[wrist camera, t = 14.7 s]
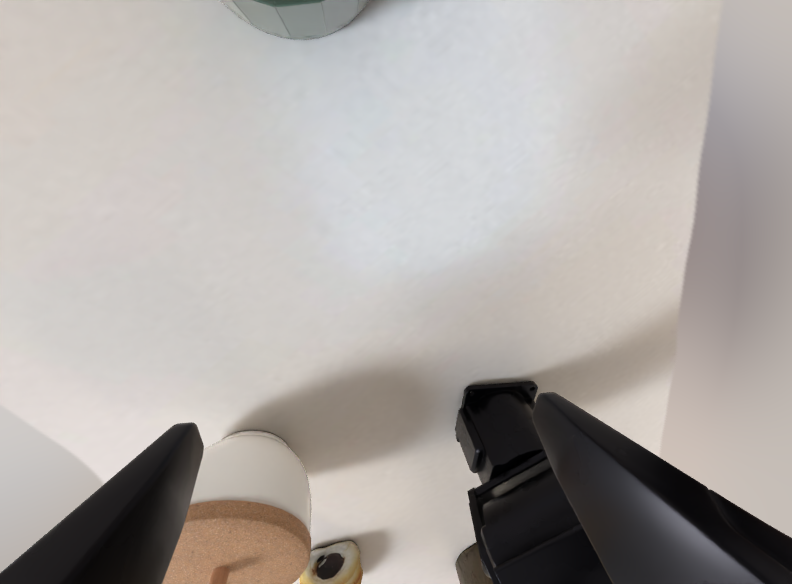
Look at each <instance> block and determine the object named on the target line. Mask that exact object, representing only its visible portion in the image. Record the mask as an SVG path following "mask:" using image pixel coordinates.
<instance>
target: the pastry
mask: <svg viewBox="0 0 792 584" xmlns="http://www.w3.org/2000/svg"><path fill="white" fill-rule="evenodd" d="M362 575H363V570H362V567H361V563H360V551H359V549H358V547H357V545H356V544H355V543H354V542H352V541H345V542H340V543H335V544H333V545H331V546H328V547H326V548H318V549H315V550H313V551H311V552H310V560H309V563H308V566H307V568H306V569H305V571H304V572H303V573H302V575H301V576H300V577H299V578H300V584H361V580H362Z"/></svg>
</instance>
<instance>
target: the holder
mask: <svg viewBox="0 0 792 584" xmlns="http://www.w3.org/2000/svg"><path fill="white" fill-rule="evenodd" d="M218 1H220V2H221V3H222V4H224V5H225V6H226V7H227V8H229V9H230V10H231V11H232V12H233V13H235V14H236V15H237V16H238V17H239V18H241V19H243V20H244V21H246V22H247V23H249V24H250V25H252V26H253V27H255V28H258V29H260V30H262V31H264V32H266V33H268V34H272V35H275V36H278V37H281V38H287V39H293V40H309V39H315V38H320V37H323V36H326V35H330V34H332V33H334V32H336V31H338V30H340V29H341V28H343V27H344V26H346V25H347V24H348V23H350V22H351V21H352V20H353V19H354V18H355V17H356V16H357V15H358V14H359V13H360V12H361V11H362V10H363V9H364V7H365V6H366V5H367V3H368V2H369V0H218Z"/></svg>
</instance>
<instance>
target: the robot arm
mask: <svg viewBox="0 0 792 584" xmlns="http://www.w3.org/2000/svg"><path fill="white" fill-rule="evenodd" d="M537 389H538V386H537V385H536V383H535V382H533V381H529V382H515V383H502V384H488V385H475V386H468V387H467V388H466V389H465V390H464V395H463V400H462V406H461V408H460V410H459V412H458V417H457V422H456V428H455V431H456V439H457V441H458V442H460V444H461V447H462V449H463V452H464V455H465V457H466V460H467V463H468V465H469V468H470V470H471V471H472V472H473V473H478V475H479V477H480V480H481V483H482V485H480V486H479V487H477V488H472V489H470V490H469V491H468V496H469V501H470V503H469V506H470V511H471V516H472V521H473V526H474V531H475V536H476V541H477V546H478V550H479V555H480V559H481V562H482V569H483V571H484V573H485V575H486V576H488V577H489V578H491V580H492V582H493V584H792V538H791V537H789V536H787V535H785V534H784V533H782V532H780V531H778V530H777V529H775V528H773V527H772V526H770V525H768V524H766V523H765V522H763V521H761V520H760V519H758V518H756V517H755V516H753V515H751V514H750V513H748V512H747V511H745V510H743V509H741V508H740V507H738V506H737V505H735V504H733V503H731V502H730V501H728V500H727V499H725V498H724V497H722V496H721V495H719V494H717V493H716V492H714V491H712V490H708V488H707V487H706V486H704V485H703V484H701V483H700V482H698V481H696V480H695V479H693V478H691V477H690V476H688V475H687V474H685V473H683V472H682V471H680V470H679V469H677V468H675V467H674V466H672V465H670V464H669V463H667V462H666V461H664V460H663V459H661V458H659V457H658V456H656V455H655V454H653V453H651V452H650V451H648V450H647V449H645V448H643V447H642V446H640V445H639V444H637V443H635V442H634V441H632V440H630V439H629V438H627V437H626V436H624V435H622V434H621V433H619V432H618V431H616V430H614V429H613V428H611V427H610V426H608V425H606V424H605V423H603V422H602V421H600V420H598V419H597V418H595V417H594V416H592V415H590V414H589V413H587V412H586V411H584V410H582V409H581V408H579V407H578V406H576V405H574V404H573V403H571V402H569V401H568V400H566V399H565V398H563V397H561V396H560V395H558V394H556V393H554V392H547V393H540V394H539V395H538V397H537V400H536V403H535V402H534V398H535V395H536V392H537ZM203 451H204V446H203V442H202V439H201V436H200V433H199V430H198V427H197V425H196V424H195V423H180V424H176V425H174V426H172V427H171V428H170V429H169V430H167V431H166V432H165V433H164V434H163V435H162V436H160V437H159V438H158V439H157V440H156V441H154V442H153V443H152V444H151V445H150V446H149V447H147V448H146V449H145V450H144V451H143V452H142V453H140V454H139V455H138V456H137V457H136V458H135V459H133V460H132V461H131V462H130V463H129V464H128V465H126V466H125V467H124V468H123V469H122V470H121V471H119V472H118V473H117V474H116V475H115V476H114V477H112V478H111V479H110V480H109V481H108V482H106V483H105V484H104V485H103V486H102V487H101V488H99V489H98V490H97V491H96V492H95V493H94V494H92V495H91V496H90V497H89V498H88V499H87V500H85V501H84V502H83V503H82V504H81V505H80V506H78V507H77V508H76V509H75V510H74V511H73V512H71V513H70V514H69V515H68V516H67V517H66V518H64V519H63V520H62V521H61V522H60V523H58V524H57V525H56V526H55V527H54V528H53V529H52V530H50V531H49V532H48V533H47V534H46V535H44V536H43V537H42V538H41V539H40V540H39V541H37V542H36V543H35V544H34V545H33V546H32V547H30V548H29V549H28V550H27V551H26V552H25V553H24V554H22V555H21V556H20V557H19V558H18V559H16V560H15V561H14V562H13V563H12V564H10V565H9V566H8V567H7V568H6V569H5V570H3V571H2V572H1V573H0V584H162V583H163V580H164V578H165V575H166V572H167V570H168V567H169V564H170V562H171V559H172V556H173V554H174V551H175V548H176V546H177V543H178V540H179V538H180V535H181V532H182V529H183V526H184V523H185V520H186V516H187V513H188V509H189V505H190V502H191V498H192V494H193V490H194V487H195V483H196V479H197V475H198V472H199V468H200V464H201V461H202V457H203Z"/></svg>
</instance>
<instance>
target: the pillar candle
mask: <svg viewBox="0 0 792 584" xmlns="http://www.w3.org/2000/svg"><path fill="white" fill-rule="evenodd" d="M456 570H457V574H458V577H459V581H460V584H493V582H492V580H491V578H489V577H488V576H486V575H485V573H484V571H483V569H482V562H481V559H480V555H479V550H478V546H477V544H475V545H474V546H472V547H471V548H469V549H467V550H465V551H464V552H463V553H461V554H460V556H459V558H458V559H457V562H456Z"/></svg>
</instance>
